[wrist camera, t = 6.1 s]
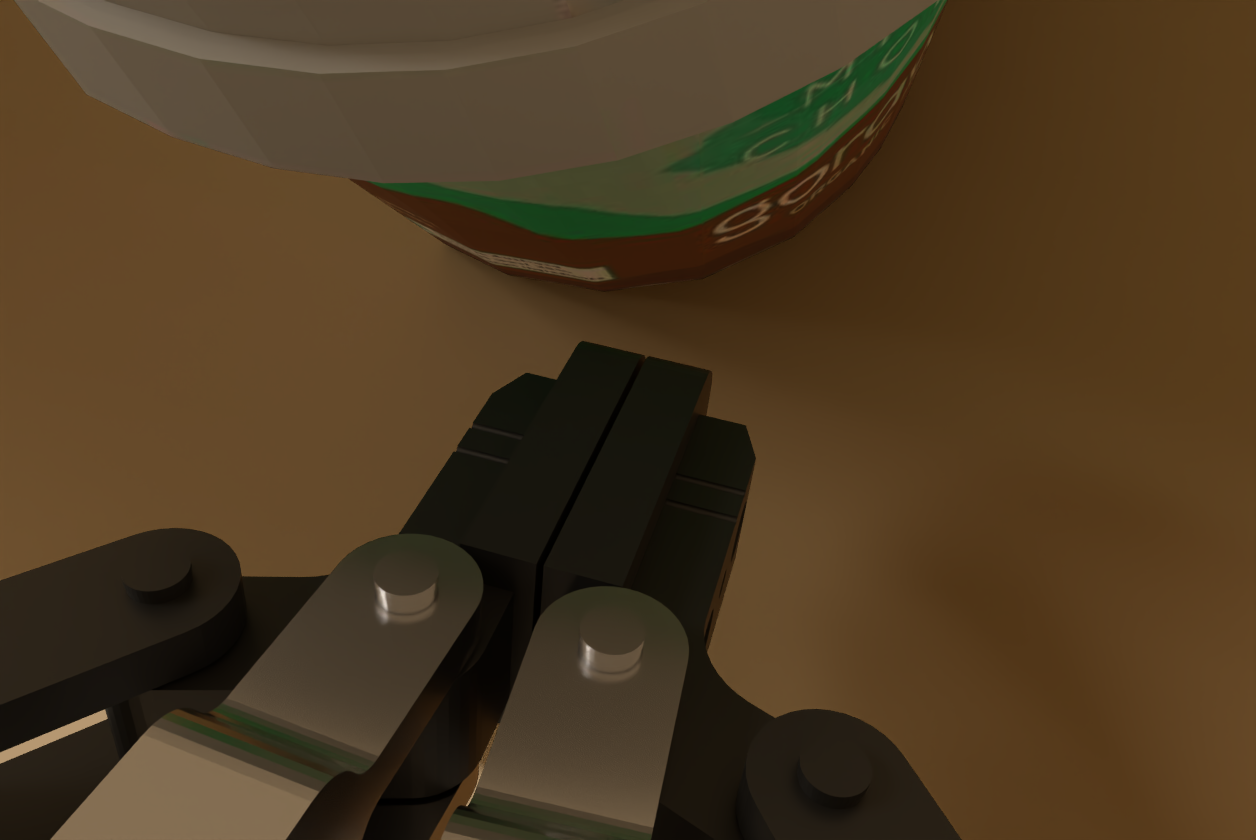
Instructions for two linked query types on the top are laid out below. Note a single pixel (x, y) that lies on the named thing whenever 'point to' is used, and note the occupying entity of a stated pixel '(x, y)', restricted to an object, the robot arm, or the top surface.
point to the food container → (528, 112)
